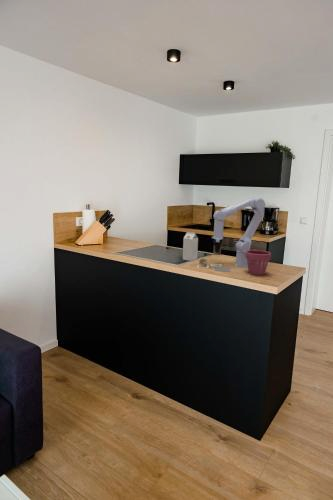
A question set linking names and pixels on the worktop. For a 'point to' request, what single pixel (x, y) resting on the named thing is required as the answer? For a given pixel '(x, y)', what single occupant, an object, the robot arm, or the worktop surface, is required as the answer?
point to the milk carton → (190, 246)
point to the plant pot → (257, 261)
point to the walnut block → (215, 252)
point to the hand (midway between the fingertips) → (217, 251)
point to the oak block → (203, 262)
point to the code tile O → (204, 267)
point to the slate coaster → (222, 269)
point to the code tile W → (216, 265)
